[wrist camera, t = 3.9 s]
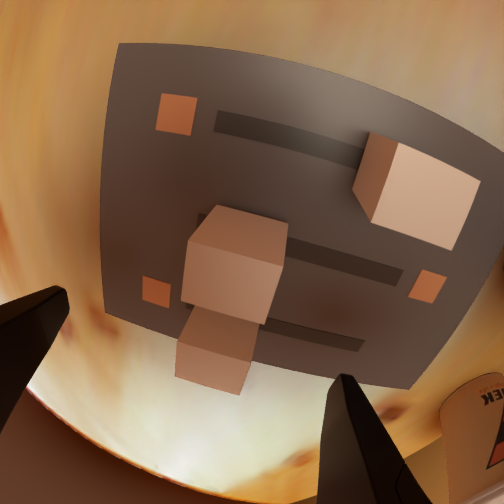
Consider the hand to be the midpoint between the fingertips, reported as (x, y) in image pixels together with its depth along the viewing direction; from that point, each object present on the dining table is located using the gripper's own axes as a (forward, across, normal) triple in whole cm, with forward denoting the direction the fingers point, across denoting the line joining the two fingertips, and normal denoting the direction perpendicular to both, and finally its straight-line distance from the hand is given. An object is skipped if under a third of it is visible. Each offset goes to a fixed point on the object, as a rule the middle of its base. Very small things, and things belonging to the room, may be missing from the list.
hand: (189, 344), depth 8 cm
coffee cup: (+9, -25, +11) cm, 29 cm away
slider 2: (+6, 0, +4) cm, 7 cm away
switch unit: (+9, -3, -1) cm, 9 cm away
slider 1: (+6, 0, -1) cm, 6 cm away
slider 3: (+6, -6, -5) cm, 10 cm away
